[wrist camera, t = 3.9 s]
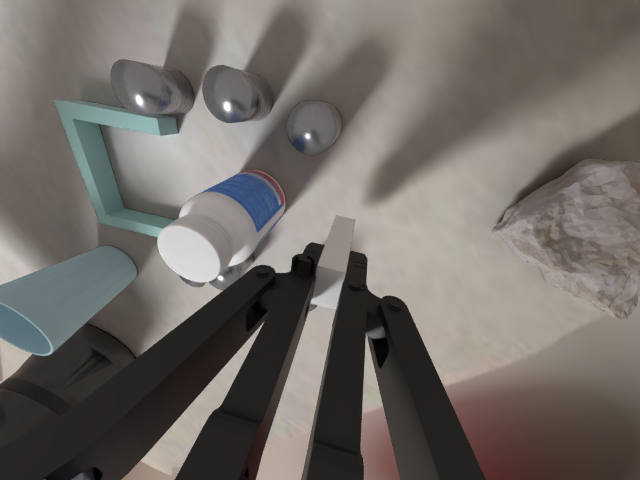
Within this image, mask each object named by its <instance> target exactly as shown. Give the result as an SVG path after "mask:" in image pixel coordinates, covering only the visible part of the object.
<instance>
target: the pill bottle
mask: <svg viewBox="0 0 640 480" xmlns="http://www.w3.org/2000/svg"><path fill="white" fill-rule="evenodd" d="M284 210H285V196H284V193H283V190H282V188H281V187H280V185H279V184H278V182H277V181H276V180H275V179H274V178H272V177H271V176H270V175H268V174H267V173H265V172H262V171H259V170H246V171H243V172H241V173H238V174H236V175H235V176H233V177H231V178H229V179H227V180H225V181H223V182H221V183H219V184H217V185H215V186H213V187H211V188H209V189H207V190H205V191H203V192H201V193H199V194H197V195H195V196H194V197H192V198H190V199H189V200H188V201H187V202H186V203H185V204H184V205H183V207H182V209H181V211H180V214H179V218H178V219H176V220H175V221H174V222H172V223H171V224H169V225H168V226H166V227H165V228H163V229H162V230H161V232H160V233H159V235H158V240H157V243H158V249H159V252H160V254H161V256H162V258H163V259H164V261H165V262H166V263H167V265H168V266H169V267H170V268H171V269H172V270H173V271H175V272H176V273H177V274H179V275H180V276H182V277H184V278H186V279H188V280H191V281H195V282H209V281H211V280H213V279H215V278H216V277H217V276H218V275H219V274H220V273H221V272H222V271H223V270H224V269H226V268H227V266H233V265H237V264H239V263H242V262H243V261H245V260H246V259H247V258H248V257H249V256H250V255H251V254H252V253H253V251H254V250H255V249H256V248H257V247H258V245H259V244H260V243H261V242H262V241H263V239H264V238H265V237H266V236H267V234H268V233H269V232H270V231H271V230H272V228H273V227H274V226H275V225H276V224H277V222H278V221H279V220H280V218H281V217H282V215H283V213H284Z"/></svg>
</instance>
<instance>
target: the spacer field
mask: <svg viewBox="0 0 640 480" xmlns="http://www.w3.org/2000/svg"><path fill="white" fill-rule="evenodd" d="M111 84H112V87H113V90H114V92H115V94H116V96H117V98H118V99H119V101H120V102H121V103H122V105H123V106H124V107H125V108H127V109H128V110H129V111H131V112H133V113H135V114H140V115H145V114H183V113H187V112H188V111H190V110H191V108H192V106H193V103H194V93H193V89H192V86H191V84H190V82H189V81H188V79H187V78H186V77H185V76H184V75H183V74H182V73H181V72H179V71H177V70H175V69H170V68H165V67H160V66H155V65H150V64H145V63H140V62H135V61H130V60H118V61H117V62H115V63H114V65H113V66H112V69H111ZM202 89H203V97H204V100H205V103H206V105H207V107H208V109H209V110H210V112H211V113H212V114H213V115H214V116H215V117H216V118H217V119H219V120H221V121H223V122H226V123H235V122H245V121H255V120H261V119H263V118H265V117H266V116H267V115H268V114H269V112H270V110H271V108H272V102H273V98H272V93H271V90H270V87H269V85H268V84H267V82H266V81H265V80H264V79H263V78H261V77H260V76H258V75H255V74H252V73H248V72H245V71H242V70H238V69H235V68H231V67H228V66H224V65H217V66H214V67H212V68H211V69H210V70H209V71H208V72H207V73H206V75H205V77H204V80H203V87H202ZM341 130H342V119H341V115H340V113H339V111H338V110H337V109H336V108H335V107H334V106H333V105H331V104H329V103H326V102H319V101H311V100H310V101H304V102H301V103H299V104H298V105H296V106H295V107H294V108H293V109H292V111H291V112H290V114H289V117H288V120H287V133H288V137H289V139H290V141H291V143H292V145H293V146H294V147H295V148H296V149H297V150H298V151H300V152H302V153H304V154H308V155H315V154H319V153H321V152H323V151H324V150H326V149H327V148H328V147H329V146H330V145H331V144H333V143H334V142H335V141H336V140H337V139H338V137H339V135H340V133H341ZM253 261H254V256H253V254H251V255H250V256H249V257H248V258H247V259H246V260H245V261H243V262H242V263H239V264H237V265H233V266H227V268H226V269H224V270H223V271H222V272H221V273H220V274H219V275H218V276H217V277H216V278H215V279H213V280H211V281H209V283H210V284H211V285H212V286H214V287H215V288H217V289H219V290H223V291H224V290H225V289H226V288H228V287H229V286H230V285H231V284H233V283H234V282H235V281H237V280H238V279H239V278H240V277H242V276H243V275H244V274H245V272H246V271H247V270H248V268H249V267H250V266H251V265H252V263H253ZM179 276H180V275H179ZM180 278H181V279H182V280H183V281H184V282H185V283H187V284H188V285H190V286H193V287H202V286H204V285H205V284H206V283H207V282H195V281H191V280H188V279H186V278H184V277H182V276H180ZM316 307H317V305H315V304H311V303H310V307H309V311H311V310H313V309H315V308H316Z"/></svg>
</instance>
